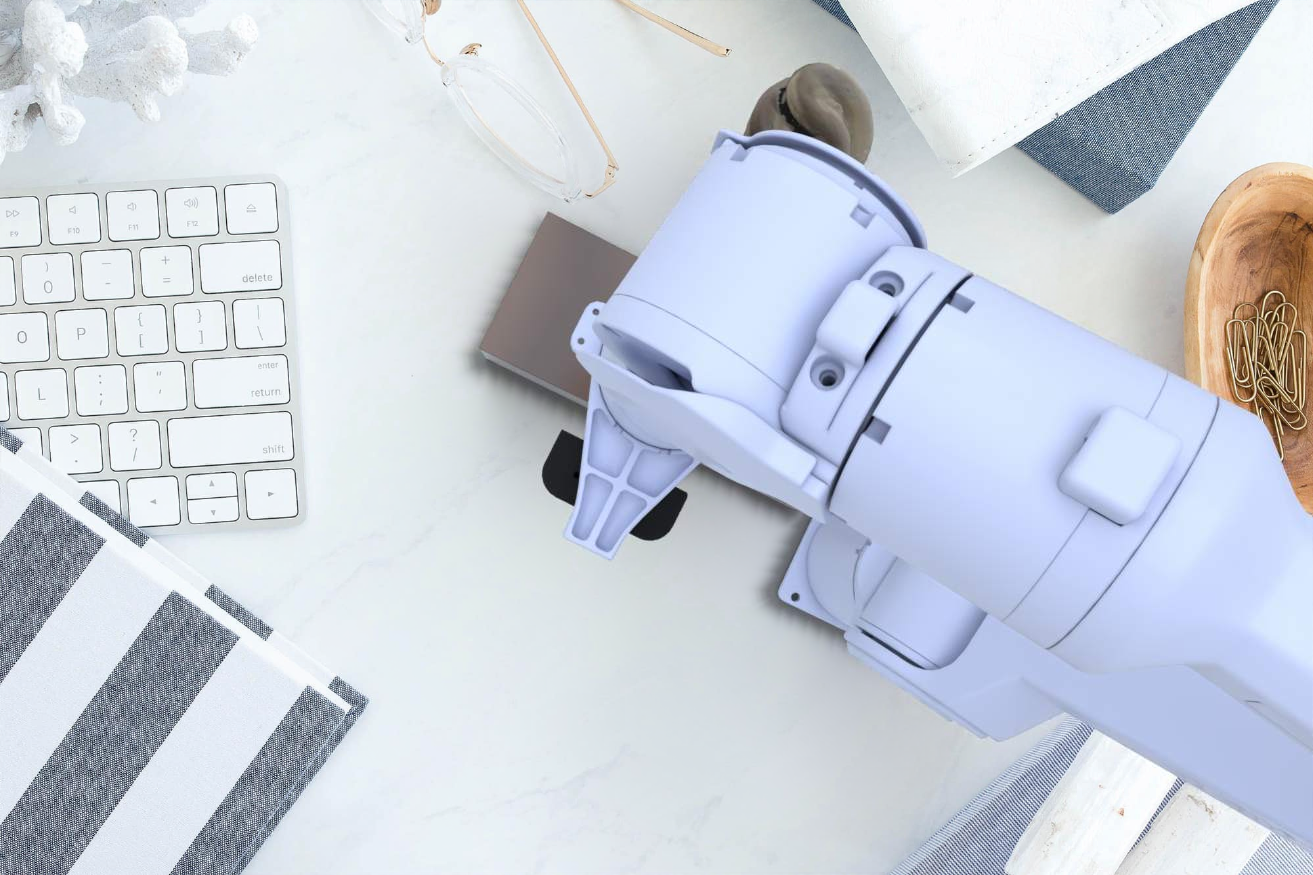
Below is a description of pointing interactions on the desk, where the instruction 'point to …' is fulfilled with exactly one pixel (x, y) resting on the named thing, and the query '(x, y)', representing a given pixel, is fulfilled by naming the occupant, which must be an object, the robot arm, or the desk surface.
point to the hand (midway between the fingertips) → (650, 390)
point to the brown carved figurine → (818, 109)
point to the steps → (556, 307)
